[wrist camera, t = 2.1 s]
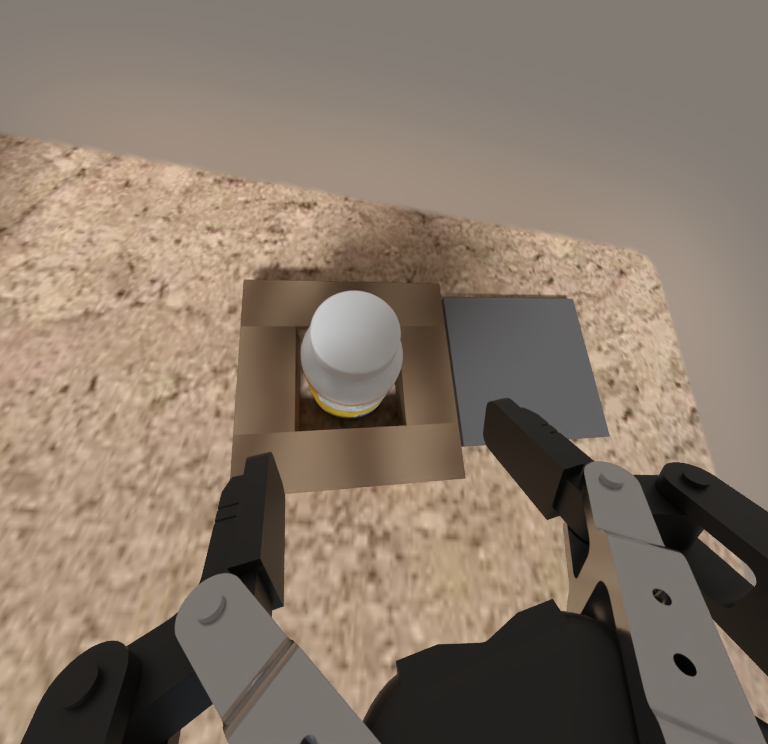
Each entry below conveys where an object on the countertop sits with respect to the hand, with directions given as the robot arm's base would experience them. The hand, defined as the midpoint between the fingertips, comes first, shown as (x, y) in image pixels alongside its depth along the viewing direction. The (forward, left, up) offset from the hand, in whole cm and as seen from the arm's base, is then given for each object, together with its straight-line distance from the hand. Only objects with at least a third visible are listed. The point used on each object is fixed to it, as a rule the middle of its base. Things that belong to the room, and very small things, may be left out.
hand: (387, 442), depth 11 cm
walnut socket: (-1, +5, -11) cm, 12 cm away
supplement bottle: (-1, +5, -11) cm, 12 cm away
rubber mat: (+13, +6, -11) cm, 18 cm away
